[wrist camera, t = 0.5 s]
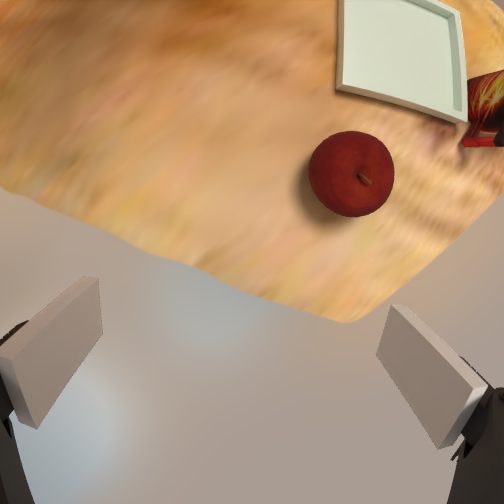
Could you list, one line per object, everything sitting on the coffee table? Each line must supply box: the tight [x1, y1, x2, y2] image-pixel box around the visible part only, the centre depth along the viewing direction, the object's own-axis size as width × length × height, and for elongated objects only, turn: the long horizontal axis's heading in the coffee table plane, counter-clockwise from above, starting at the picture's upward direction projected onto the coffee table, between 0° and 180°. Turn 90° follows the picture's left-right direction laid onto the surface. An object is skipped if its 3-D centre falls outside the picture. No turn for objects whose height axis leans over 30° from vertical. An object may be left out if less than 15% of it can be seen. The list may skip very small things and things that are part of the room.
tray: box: [335, 0, 468, 124], centre depth 32 cm, size 20×20×3 cm
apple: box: [309, 131, 394, 217], centre depth 33 cm, size 10×10×10 cm
